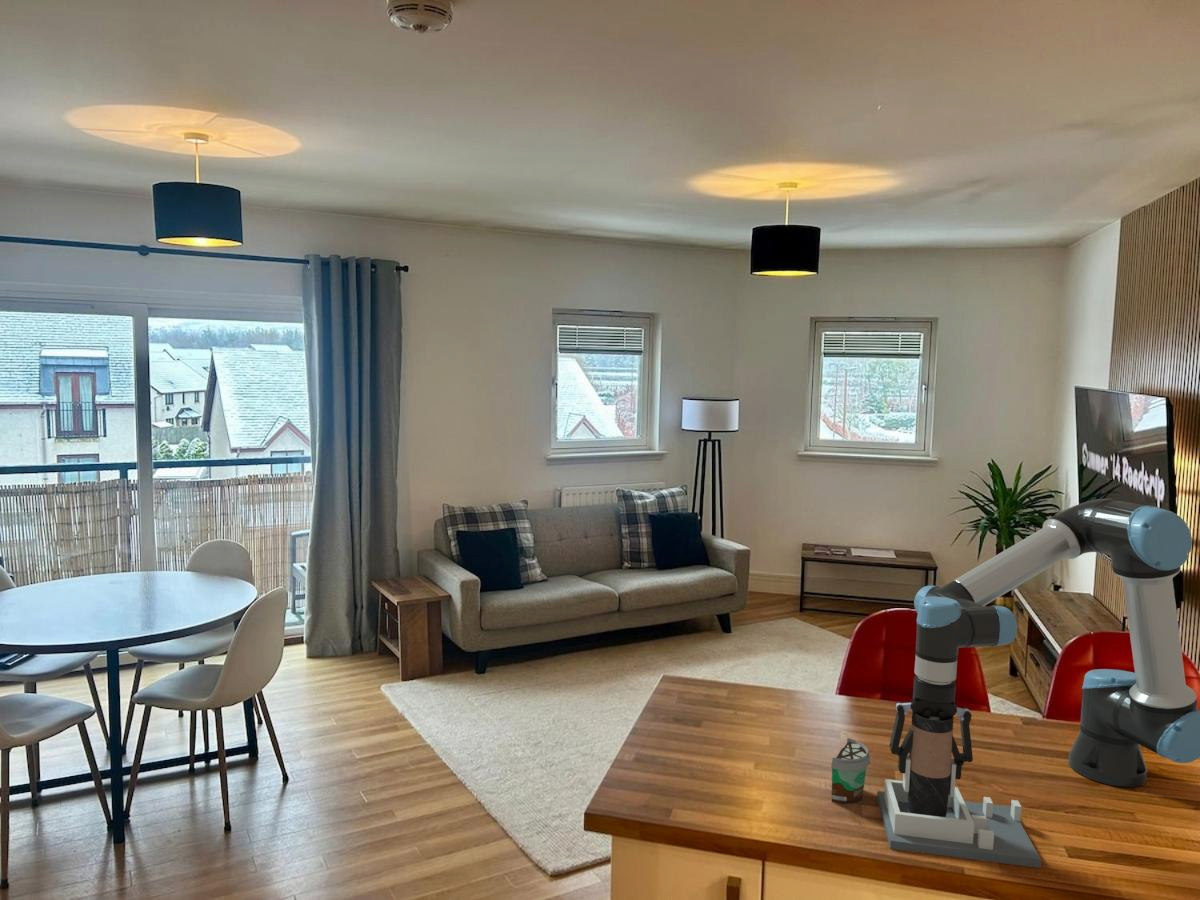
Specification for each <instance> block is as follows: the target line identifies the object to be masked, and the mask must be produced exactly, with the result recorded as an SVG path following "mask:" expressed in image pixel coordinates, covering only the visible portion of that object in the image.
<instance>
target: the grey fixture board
mask: <svg viewBox="0 0 1200 900" xmlns="http://www.w3.org/2000/svg"><path fill="white" fill-rule="evenodd" d="M876 792H877V794H876V795H877V796H876V797H877V798H876V799H877V804H878V806H879V807H878V808H879V810H880V815H881V819H882V822H883V823H882V824H883V826H884V827H883V828H884V831H885V833H886V838H887V842H888V845H889V849H890V850H897V851H904V850H905V851H906V852H912V851H913V853H919V852H924V853H923V854H927V853H929V855H936V856H937V855H938V856H943V855H944V857H951V856H952V858H957V859H958V858H959V859H968V860H975V861H983V862H989V863H991V862H992V863H997V864H1006V865H1015V866H1021V867H1022V866H1023V867H1029V868H1030V867H1031V868H1036V869H1037V868H1038V869H1041V866H1042V859H1041V857H1040V855H1039V854H1038V851H1037V850H1036V848H1035V846H1034V844H1033V843H1032V840H1031V839H1030V837H1029V836H1028V834H1027V832H1026V830H1025V828H1024V827H1023V825H1022V823H1021V821H1014V820H1013V818H1012V816H1011V805H1010V806H1008V805H1001V804H994V803H993V813H992V818H988V817H986V819H987V824H986V830H990V831H993V833H994V843H993V850H990V849H982V848H979V847H978V834H977V833H974V835H973V844H969V843H961V842H953V841H945V840H937V839H929V838H921V837H913V836H905V835H897V834H894V832H893V828H892V824H891V821H890V817H889V813H888V810H887V806H886V803H885V799H884V791H880V790H877V791H876ZM964 802H965V804H966V807H967V809H968V811H969V813H970V815H971V817H972V815H978V816H985V815H984V813H983V802H975V801H967V800H964ZM897 804H898V807H899V810H900V812H905V813H911V812H910V811H909V810H908V803H906V802H898V801H897ZM946 818H955V819H957V818H956V816H955V813H954V811H953V809H952V808H949V807H947V814H946ZM905 851H904V852H905Z"/></svg>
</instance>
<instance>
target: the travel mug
mask: <svg viewBox="0 0 1200 900" xmlns="http://www.w3.org/2000/svg"><path fill="white" fill-rule="evenodd" d="M910 727H911V730H912V731H913V730H914V732H913V746H912V748H911V750H910V752H909V757H910V759H911V764H910V781H909V792H908V810H909V811H910V812H911V813H913V814H921V815H930V816H938V817H946V814H947V805H948V795H949V785H950V774H951V758H952V756H953V754H952V734H953V735H954V731H953V730H954V716H953V717H952V718H951V719H950V720H944V721H940V718H939V717H933V716H930V717H929V719H926V718H923V717H921V716H919V715H917V714H915V713H914V712H913V711H912V710H911V726H910Z"/></svg>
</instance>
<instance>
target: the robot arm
mask: <svg viewBox="0 0 1200 900" xmlns="http://www.w3.org/2000/svg"><path fill="white" fill-rule="evenodd" d="M1190 530H1191V529H1190V528H1189V526H1188V524H1187V523H1186V522H1185V520H1184V519H1183V518H1182V517H1181V516H1180V515H1178V514H1177V513H1175V512H1173V511H1171V510H1168V509H1163V508H1162V507H1158V506H1156V505H1149V504H1148V505H1145V504H1141V503H1134V502H1128V501H1123V500H1122V501H1121V500H1119V499H1113V498H1098V499H1092V500H1088V501H1085V502H1081V503H1079V504H1078V503H1077V504H1075V505H1073V506H1071V507H1069V508H1067V509H1064V510H1063V511H1061V512H1059V513H1057V514H1055V515H1053V516H1051V517H1049V518H1047V519H1046V520H1045V521H1044V522H1043V523H1042V528H1040V529H1039V530H1037V531H1035V532H1034V533H1032V534H1031V535H1029V536H1026V537H1025V538H1024V539H1022V540H1020V541H1018V542H1016V543H1015V544H1013V545H1011V546H1009V547H1008V548H1006V549H1005V550H1003V551H1001V552H1000V553H998V554H996V555H995V556H993V557H991V558H989V559H987V560H986V561H984V562H983V563H980V564H979V565H977V566H976V567H973V568H972V569H970V570H968V571H967V572H965V573H964V574H962V575H960V576H959V577H957V578H955V579H954V580H952V581H950V582H948V583H946V584H945V585H942V586H938V585H926V586H923V587H922V588H919V590H918V591H917V593H916V594H915V597H914V601H913V604H914V605H913V606H914V609H915V612H916V613H917V616H916V639H915V640H916V641H915V660H914V674H915V676H914V677H913V690H912V698H911V700H910V701H909V702H903V703H902V702H901V701H896V702H895V704H894V705H895V711H896V715H895V719H894V723H893V726H892V727H893V728H892V733H891V735H890V742H889V749H890V752H891V754H893V755H896V756H898V761H897V762H898V764H897V768H898V771H899V773H900V774H903V775H902V781H903V788H904V791H905V792H909V781H910V764H911V759H910V757H909V752H910V750H911V748H912V746H913V732H914V730H913V731H912V730H911V726H910V727H909V729H908V731H907V733H906V735H905V736H904V739H903V740H902V742H901V739H902V734H903V730H904V729H903V728H904V726H905V721H906V720H905V719H906V716H907V715H908V714H909V711H910V710H911V712H912V711H913V712H914V713H915V714H917V715H919V716H921V717H923V718H926V719H929V717H930V716H933V717H939V718H940V721H944V720H950V719H951V718H952V717H953V718H954V716H955V715H957V718H958V720H959V725H960V734H961V736H960V737H961V745H962V752H961V753H960V750H959V748H958V745H957V742H956V740H955V736H954V733H953V734H952V756H953V758H952V757H951V774H950V785H949V795H950V797H954V793H955V787H956V780H961V778H962V767H963V765H964V764H965V763H972V762H973V761H974V758H973V757H974V755H973V749H972V748H973V747H972V739H971V738H972V737H971V729H970V723H971V721H972V713H971V711H970V710H969V708H968V707H963V708H961V707H958V706H956V704H955V702H956V686H957V685H956V683H957V682H956V680H957V670H958V669H957V667H958V658H959V657H958V656H959V648H962V649H963V648H979V647H993V648H994V647H998V646H1005V645H1009V644H1011V643H1013V642H1014V641H1015V639H1016V638H1017V635H1018V621H1017V619H1016V616H1015V614H1014V613H1013V612H1012V610H1010V609H1009V608H1007V607H1006V606H1001V605H999V606H998V605H990V606H987V605H988V604H990V603H992V602H993V601H995V600H996V599H998V598H1000V597H1002V596H1004V595H1005V594H1007V593H1008V592H1010V591H1012V590H1013V589H1016V588H1017V587H1019V586H1021V585H1022V584H1024V583H1025V582H1027V581H1029V580H1031V579H1032V578H1034V577H1036V576H1037V575H1039V574H1041V573H1043V572H1044V571H1046V570H1048V569H1050V568H1051V567H1053V566H1054V565H1057V563H1059V562H1061V561H1063V560H1065V559H1069V560H1073V559H1076V558H1078V557H1080V556H1081V555H1084V554H1089V553H1099V554H1103V555H1107V556H1110V561H1111V563H1110V564H1111V569H1112V573H1113V574H1114V575H1115V576H1117V577H1119V579H1121V580H1122V585H1123V586H1122V588H1123V595H1124V601H1125V609H1126V617H1127V623H1128V631H1129V638H1130V646H1131V653H1132V660H1133V668H1134V672H1132V671H1127V670H1123V669H1122V670H1121V669H1113V668H1111V669H1110V668H1109V669H1108V668H1103V669H1102V668H1099V669H1091V670H1089V671H1087V672H1086V673H1085V675H1084V679H1083V683H1082V687H1081V706H1080V707H1081V708H1080V722H1079V724H1080V726H1079V732H1078V735H1077V737H1076V738H1075V741H1074V743H1073V744H1072V746H1071V749H1070V751H1069V754H1068V765H1069V767H1070V768H1071V769H1072V770H1073V771H1074V772H1076V773H1077V774H1080V776H1083V777H1085V778H1087V779H1090V780H1092V781H1095V782H1097V783H1102V784H1105V785H1109V786H1115V787H1121V788H1124V787H1125V788H1135V787H1140V786H1143V785H1145V784H1146V783H1147V779H1148V778H1147V775H1148V769H1147V766H1146V762H1145V758H1144V755H1143V752H1142V748H1141V746H1142V747H1143V748H1146V749H1147V750H1149V751H1151V752H1153V753H1155V754H1156V755H1158V756H1159V757H1161V758H1166V759H1168V760H1170V761H1172V762H1175V763H1178V764H1188V763H1192V762H1194V761H1197V760H1198V759H1200V710H1199V707H1198V700H1197V699H1198V698H1197V694H1196V692H1195V690H1194V689H1193V688H1191V687H1190V686H1188V685H1187V684H1186V683H1187V682H1186V676H1185V675H1186V674H1185V669H1184V668H1185V667H1184V660H1183V652H1182V645H1181V644H1182V643H1181V637H1180V628H1179V621H1178V612H1177V604H1176V598H1175V597H1176V596H1175V588H1174V582H1173V578H1174V577H1176V576H1177V575H1178V574H1179V573H1180V571H1181V567H1182V566H1183V565H1184V564H1185V563H1186V561H1187V560H1188V559H1189V555H1188V554H1189V553H1191V551H1192V549H1193V548H1192V547H1193V538H1192V533H1191V531H1190ZM900 742H901V744H900Z"/></svg>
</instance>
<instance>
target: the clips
mask: <svg viewBox="0 0 1200 900" xmlns="http://www.w3.org/2000/svg"><path fill="white" fill-rule="evenodd" d="M982 803H983V813H984V815H985V816H978V815H972V820H973V822H974V833H977V834H978V847H979V848H982V849H990V850H993V843H994V833H993V831H990V830H986V824H987V819H986V817H988V818H992V813H993V804H994V803H993V801H992V798H991V797H990V796H989V797H988V796H983V801H982ZM1010 804H1011V805H1010V806H1011V816H1012V818H1013V820H1014V821H1020V822H1022V821H1021V818H1022V807H1023V806H1022V805H1021V803H1020V802H1019V800H1018V799H1017V800H1014V799H1011V803H1010Z"/></svg>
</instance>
